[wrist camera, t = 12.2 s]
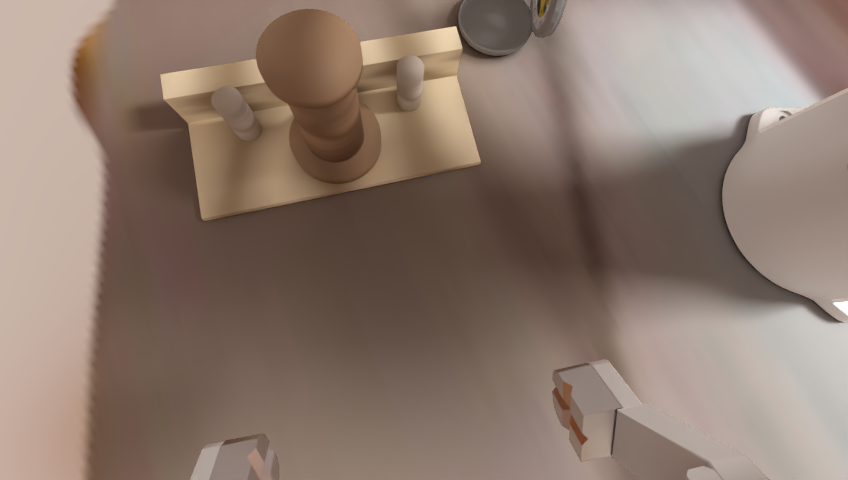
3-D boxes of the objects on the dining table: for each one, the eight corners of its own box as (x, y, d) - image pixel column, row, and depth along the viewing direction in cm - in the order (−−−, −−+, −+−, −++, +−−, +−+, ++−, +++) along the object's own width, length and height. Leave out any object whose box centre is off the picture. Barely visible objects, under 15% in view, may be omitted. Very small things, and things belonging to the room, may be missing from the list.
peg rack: (449, 59, 35) (458, 16, 30) (479, 164, 33) (493, 136, 28) (188, 104, 33) (152, 65, 28) (205, 221, 31) (169, 201, 26)
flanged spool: (371, 95, 33) (360, -11, 23) (390, 174, 32) (387, 99, 21) (285, 111, 33) (233, 8, 22) (301, 192, 31) (253, 124, 21)
